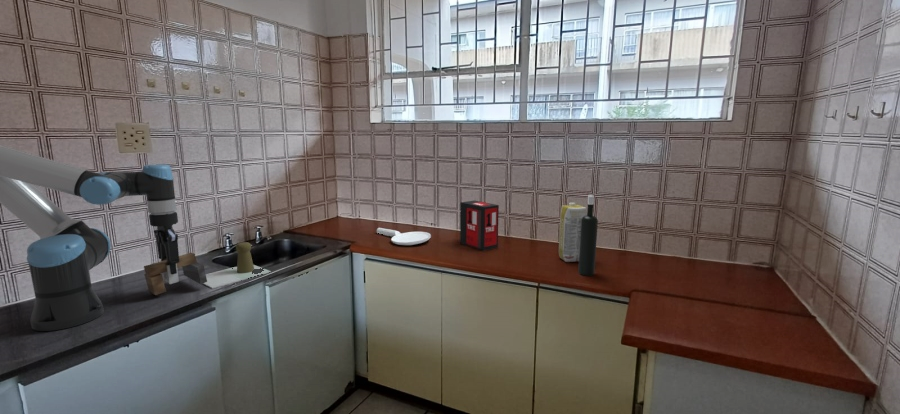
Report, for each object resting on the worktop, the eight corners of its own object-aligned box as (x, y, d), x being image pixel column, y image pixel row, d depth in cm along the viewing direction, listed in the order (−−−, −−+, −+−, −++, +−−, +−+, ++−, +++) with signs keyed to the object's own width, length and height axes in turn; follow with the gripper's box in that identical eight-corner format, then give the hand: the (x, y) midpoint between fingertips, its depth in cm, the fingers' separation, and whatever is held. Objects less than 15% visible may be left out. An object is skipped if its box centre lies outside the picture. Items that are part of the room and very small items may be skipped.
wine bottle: (579, 270, 158) (583, 193, 153) (594, 271, 156) (599, 194, 150) (577, 274, 153) (582, 195, 147) (593, 276, 151) (599, 196, 145)
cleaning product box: (460, 243, 196) (460, 202, 193) (474, 240, 202) (474, 200, 198) (483, 250, 184) (484, 207, 180) (497, 247, 189) (498, 205, 186)
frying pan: (365, 240, 209) (363, 232, 208) (393, 231, 223) (392, 223, 222) (410, 250, 185) (409, 241, 185) (439, 240, 199) (438, 231, 198)
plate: (212, 288, 139) (212, 287, 139) (192, 278, 148) (192, 277, 148) (270, 272, 155) (270, 271, 155) (249, 264, 165) (249, 263, 165)
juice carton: (577, 256, 176) (580, 201, 171) (585, 261, 168) (589, 204, 164) (556, 257, 174) (559, 202, 170) (564, 263, 166) (567, 205, 162)
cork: (247, 273, 152) (244, 245, 150) (233, 272, 153) (230, 244, 151) (257, 268, 158) (255, 241, 156) (244, 267, 159) (241, 240, 157)
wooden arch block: (160, 298, 128) (153, 271, 125) (144, 288, 136) (137, 263, 134) (207, 281, 138) (201, 256, 136) (190, 273, 147) (184, 249, 144)
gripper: (186, 213, 130) (194, 283, 134) (166, 208, 139) (174, 273, 144) (158, 217, 124) (168, 290, 128) (140, 211, 134) (149, 279, 138)
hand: (171, 281), depth 136 cm, fingers closed on wooden arch block, 3 cm apart
